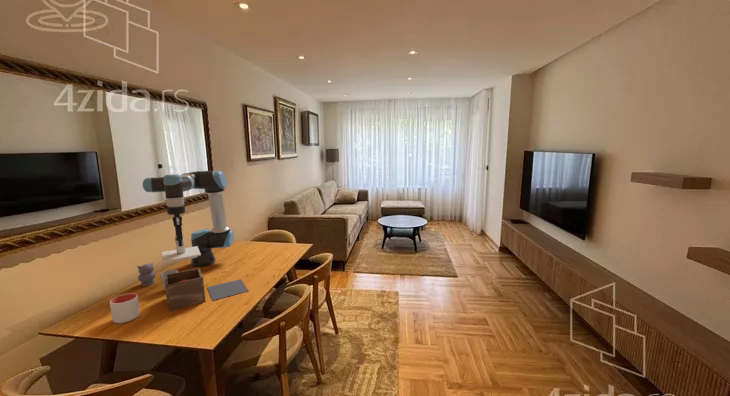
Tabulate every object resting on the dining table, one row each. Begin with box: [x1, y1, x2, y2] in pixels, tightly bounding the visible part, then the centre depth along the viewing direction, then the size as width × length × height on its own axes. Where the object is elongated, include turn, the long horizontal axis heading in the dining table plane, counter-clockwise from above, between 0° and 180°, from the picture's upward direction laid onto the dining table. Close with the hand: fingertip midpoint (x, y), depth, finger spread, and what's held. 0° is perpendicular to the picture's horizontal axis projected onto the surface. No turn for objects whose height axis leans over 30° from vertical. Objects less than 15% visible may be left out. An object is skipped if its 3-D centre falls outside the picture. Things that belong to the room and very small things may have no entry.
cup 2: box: [160, 269, 179, 291], centre depth 165 cm, size 8×8×10 cm
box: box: [164, 267, 206, 312], centre depth 153 cm, size 16×16×13 cm
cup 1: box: [109, 292, 141, 324], centre depth 136 cm, size 10×10×10 cm
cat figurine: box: [136, 262, 157, 287], centre depth 172 cm, size 8×8×12 cm
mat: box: [206, 278, 250, 302], centre depth 165 cm, size 19×18×1 cm
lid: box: [161, 234, 201, 264], centre depth 149 cm, size 16×16×11 cm
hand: (180, 250), depth 150 cm, fingers closed on lid, 4 cm apart
